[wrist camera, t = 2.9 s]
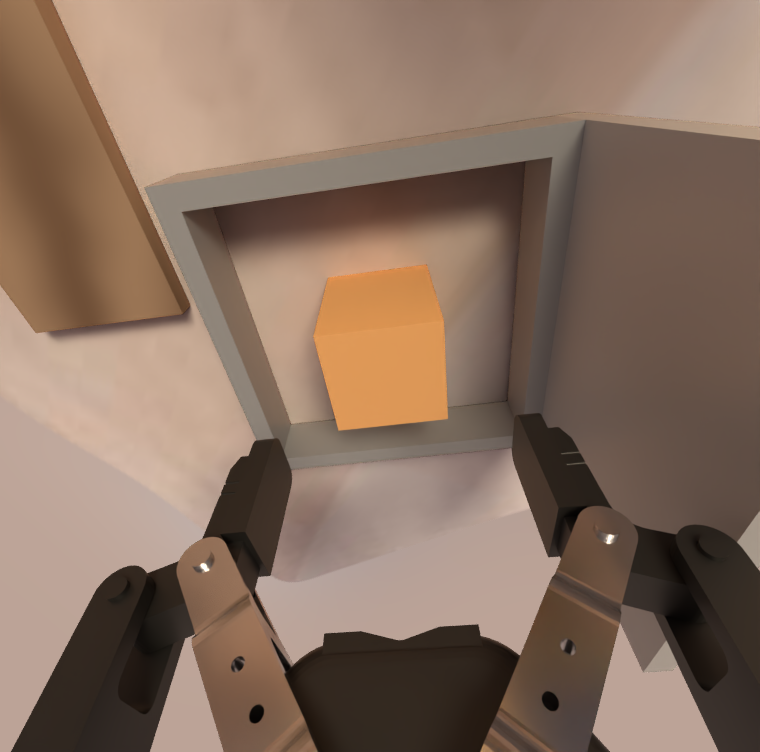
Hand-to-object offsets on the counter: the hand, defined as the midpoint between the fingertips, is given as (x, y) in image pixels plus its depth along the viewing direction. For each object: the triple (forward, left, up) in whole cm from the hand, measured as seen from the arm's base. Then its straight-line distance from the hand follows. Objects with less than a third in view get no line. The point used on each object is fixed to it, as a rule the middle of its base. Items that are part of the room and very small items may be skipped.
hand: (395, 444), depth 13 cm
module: (0, 0, -10) cm, 10 cm away
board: (-14, +8, -10) cm, 19 cm away
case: (0, 0, -10) cm, 10 cm away
